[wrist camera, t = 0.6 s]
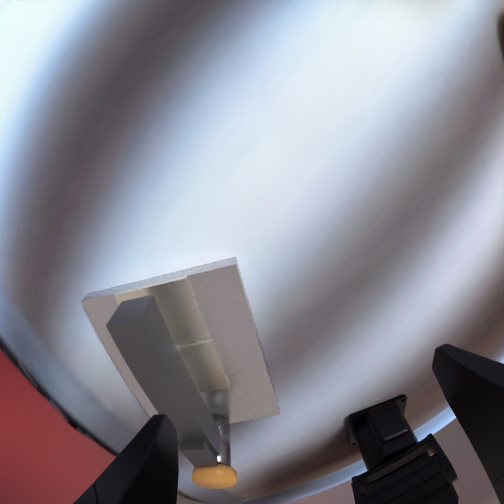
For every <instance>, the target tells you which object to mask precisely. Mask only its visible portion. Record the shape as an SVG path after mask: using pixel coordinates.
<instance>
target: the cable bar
mask: <svg viewBox="0 0 504 504" xmlns="http://www.w3.org/2000/svg"><path fill="white" fill-rule="evenodd" d="M106 327H107V329H108V331H109V333H110V335H111V337H112V339H113V341H114V342H115V344H116V346H117V348H118V350H119V351H120V353H121V355H122V357H123V358H124V360H125V362H126V364H127V365H128V367H129V369H130V370H131V372H132V374H133V375H134V377H135V379H136V380H137V382H138V383H139V385H140V386H141V388H142V390H143V391H144V393H145V394H146V396H147V397H148V399H149V400H150V402H151V403H152V405H153V406H154V408H155V409H156V410H157V412H158V413H159V414H166V415H167V416H168V417H169V419H170V420H171V422H172V423H173V425H174V426H175V428H176V430H177V439H178V440H179V441H180V443H181V452H182V453H183V454H184V455H185V456H186V457H187V459H188V460H189V461H190V462H191V463H192V464H193V465H194V468H193V474H192V480H193V482H194V483H195V484H197V485H199V486H202V487H206V488H213V489H222V488H228V487H231V486H234V485H235V484H236V483H237V473H236V470H235V469H233V468H232V467H229V466H226V465H222V464H218V456H220V429H219V427H218V425H217V424H216V422H215V420H214V419H213V417H212V415H211V413H210V411H209V410H208V408H207V406H206V404H205V402H204V401H203V399H202V397H201V395H200V393H199V391H198V389H197V388H196V386H195V384H194V382H193V380H192V378H191V376H190V374H189V372H188V370H187V368H186V366H185V364H184V362H183V360H182V358H181V356H180V354H179V352H178V350H177V348H176V345H175V343H174V341H173V339H172V337H171V335H170V332H169V330H168V328H167V326H166V323H165V321H164V319H163V317H162V314H161V312H160V310H159V307H158V305H157V302H156V300H155V298H154V295H149V296H144V297H140V298H135V299H131V300H127V301H122V302H121V303H120V305H119V306H118V308H117V309H116V311H115V312H114V314H113V315H112V317H111V318H110V320H109V321H108V323H107V325H106Z"/></svg>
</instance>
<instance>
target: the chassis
mask: <svg viewBox="0 0 504 504" xmlns="http://www.w3.org/2000/svg"><path fill="white" fill-rule="evenodd" d="M149 295H154V298H155V300H156V302H157V305H158V307H159V310H160V312H161V314H162V317H163V319H164V321H165V323H166V326H167V328H168V330H169V332H170V335H171V337H172V339H173V341H174V343H175V345H176V348H177V350H178V352H179V354H180V356H181V358H182V360H183V362H184V364H185V366H186V368H187V370H188V372H189V374H190V376H191V378H192V380H193V382H194V384H195V386H196V388H197V389H198V391H199V393H200V395H201V397H202V399H203V401H204V402H205V404H206V406H207V408H208V410H209V411H210V413H211V415H212V417H213V419H214V420H215V422H216V424H217V425H218V427H219V429H220V456H218V464H222V465H226V466H229V467H231V457H230V423H236V422H242V421H248V420H253V419H258V418H263V417H268V416H273V415H278V414H280V410H279V404H278V401H277V398H276V394H275V391H274V388H273V384H272V381H271V378H270V374H269V371H268V367H267V364H266V361H265V357H264V354H263V350H262V347H261V344H260V340H259V337H258V333H257V330H256V326H255V323H254V319H253V316H252V312H251V309H250V305H249V302H248V298H247V295H246V291H245V288H244V284H243V281H242V277H241V273H240V270H239V266H238V263H237V259H236V257H233V258H229V259H225V260H221V261H217V262H213V263H209V264H205V265H201V266H197V267H193V268H189V269H185V270H181V271H177V272H173V273H169V274H165V275H161V276H157V277H153V278H149V279H145V280H141V281H137V282H133V283H129V284H125V285H121V286H117V287H113V288H109V289H105V290H101V291H97V292H93V293H89V294H87V296H86V297H85V298H84V299H83V300H82V301H81V302H82V304H83V306H84V308H85V310H86V312H87V314H88V316H89V318H90V320H91V322H92V324H93V326H94V328H95V330H96V332H97V334H98V336H99V338H100V339H101V341H102V343H103V345H104V347H105V348H106V350H107V352H108V354H109V355H110V357H111V359H112V360H113V362H114V364H115V365H116V367H117V369H118V370H119V372H120V374H121V375H122V377H123V378H124V380H125V381H126V383H127V385H128V386H129V388H130V389H131V391H132V392H133V394H134V395H135V397H136V398H137V399H138V401H139V402H140V404H141V405H142V407H143V408H144V409H145V411H146V412H147V414H148V415H149V416H150V418H151V417H152V416H153V415H155V414H159V413H158V412H157V410H156V409H155V408H154V406H153V405H152V403H151V402H150V400H149V399H148V397H147V396H146V394H145V393H144V391H143V390H142V388H141V386H140V385H139V383H138V382H137V380H136V379H135V377H134V375H133V374H132V372H131V370H130V369H129V367H128V365H127V364H126V362H125V360H124V358H123V357H122V355H121V353H120V351H119V350H118V348H117V346H116V344H115V342H114V341H113V339H112V337H111V335H110V333H109V331H108V329H107V327H106V325H107V323H108V321H109V320H110V318H111V317H112V315H113V314H114V312H115V311H116V309H117V308H118V306H119V305H120V303H121V302H122V301H127V300H131V299H135V298H140V297H144V296H149Z"/></svg>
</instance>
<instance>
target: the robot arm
mask: <svg viewBox="0 0 504 504" xmlns="http://www.w3.org/2000/svg"><path fill="white" fill-rule="evenodd" d="M432 369H433V372H434V374H435V376H436V378H437V380H438V383H439V385H440V387H441V389H442V391H443V393H444V395H445V398H446V400H447V402H448V404H449V405H450V407H451V409H452V411H453V412H454V414H455V416H456V417H457V419H458V421H459V423H460V424H461V426H462V428H463V429H464V431H465V433H466V435H467V437H468V438H469V440H470V442H471V444H472V446H473V448H474V449H475V451H476V453H477V455H478V457H479V459H480V461H481V463H482V465H483V467H484V469H485V471H486V473H487V475H488V477H489V479H490V481H491V483H492V486H493V488H494V490H495V492H496V495H497V497H498V499H499V501H500V504H504V364H502V363H500V362H497V361H494V360H491V359H488V358H486V357H483V356H480V355H477V354H474V353H472V352H469V351H466V350H463V349H461V348H458V347H455V346H452V345H450V344H443V345H441V346H439V347H437V348H436V349H435V353H434V358H433V363H432ZM406 402H407V397H406V395H401V396H399V397H397V398H394V399H392V400H389V401H387V402H385V403H382V404H379V405H377V406H374V407H372V408H369V409H366V410H364V411H361V412H358V413H355V414H352V415H351V416H350V417H349V446H350V447H353V446H356V445H358V448H359V450H360V453H361V455H362V458H363V460H364V463H365V465H366V468H367V470H368V471H367V472H365V473H363V474H361V475H358V476H354V477H352V482H353V483H352V484H351V485H352V488H353V493H354V498H355V504H458V499H459V498H458V495H457V493H456V491H455V489H454V487H453V485H452V483H453V482H455V481H457V480H458V478H457V475H456V473H455V470H454V469H453V467H452V465H451V463H450V461H449V459H448V458H447V456H446V455H445V453H444V452H443V450H442V449H441V447H440V446H439V444H438V443H437V441H436V440H435V438H434V437H433V435H432V434H431V433H430V434H429V435H427V436H426V438H424V439H423V440H421V441H420V442H419V441H418V440H417V438H416V436H415V434H414V433H413V431H412V429H411V427H410V426H409V424H408V422H407V420H406V419H405V417H404V411H405V407H406ZM432 453H433V454H434V455H433V456H431V457H430V456H429V455H431V454H432ZM178 473H179V468H178V440H177V430H176V428H175V426H174V425H173V423H172V422H171V420H170V419H169V417H168V416H167V415H166V414H155V415H153V416H152V417H151V418H150V419H149V421H148V422H147V423H146V424H145V425H144V426H143V428H142V429H141V430H140V431H139V432H138V433H137V435H136V436H135V437H134V438H133V439H132V440H131V441H130V443H129V444H128V445H127V446H126V447H125V448H124V449H123V450H122V452H121V453H120V454H119V455H118V456H117V457H116V458H115V459H114V461H113V462H112V463H111V464H110V465H109V466H108V467H107V469H105V471H104V472H103V473H102V474H101V475H100V476H99V477H98V478H97V479H96V481H95V482H94V484H92V485H91V486H90V487H89V488H88V489H87V490H86V491H85V492H84V493H83V494H82V495H81V496H80V497H79V498H78V499H77V500H76V501H75V502H74V503H73V504H176V501H177V488H178Z"/></svg>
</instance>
